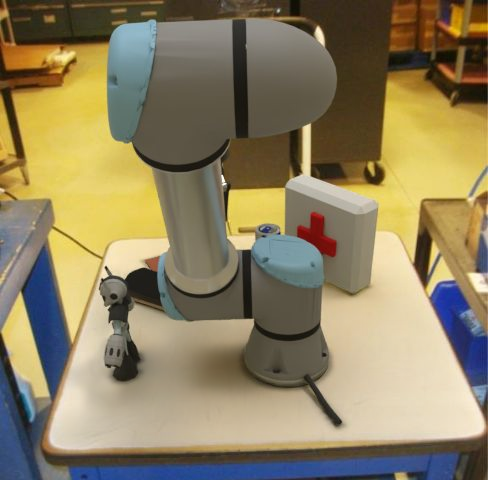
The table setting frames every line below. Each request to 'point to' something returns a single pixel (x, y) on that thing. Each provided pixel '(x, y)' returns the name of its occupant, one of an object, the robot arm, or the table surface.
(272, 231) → the beverage can
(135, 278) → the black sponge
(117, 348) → the robot
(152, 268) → the pad
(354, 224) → the bevelled white case
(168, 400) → the table surface
